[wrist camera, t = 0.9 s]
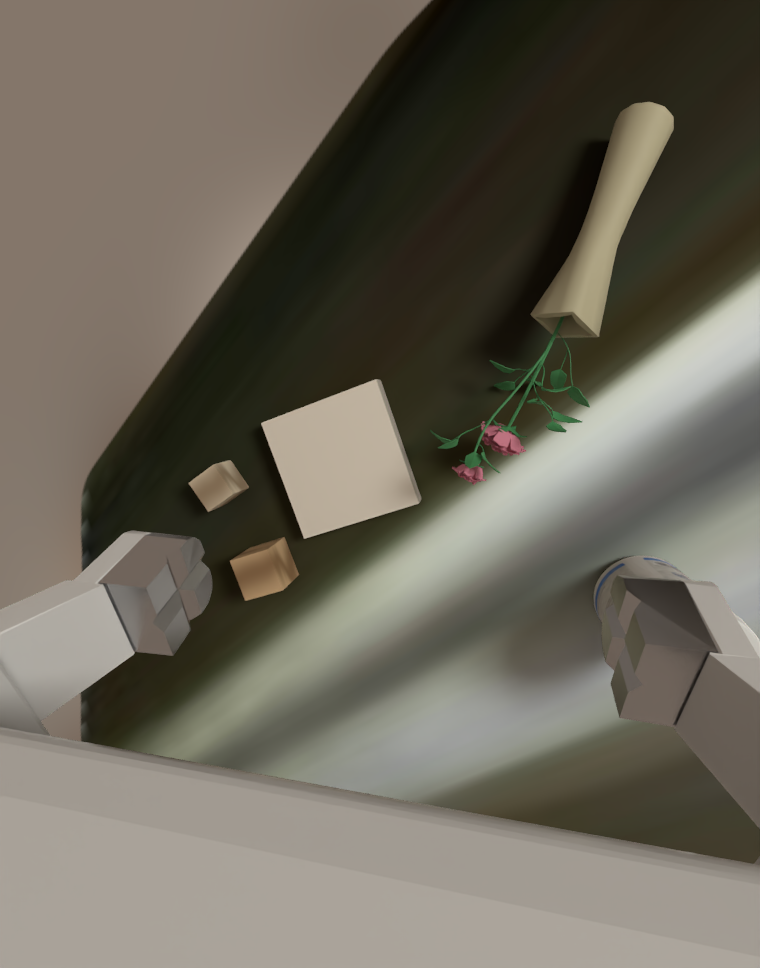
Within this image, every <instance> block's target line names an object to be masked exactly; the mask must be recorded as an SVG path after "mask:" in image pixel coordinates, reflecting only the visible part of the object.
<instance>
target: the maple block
mask: <svg viewBox="0 0 760 968" xmlns="http://www.w3.org/2000/svg"><path fill="white" fill-rule="evenodd" d="M189 485H190V486H191V488H192V489H193V490H194V492H195V493H196V495H197V496H198V498H199V499H200V501H201V502H202V503H203V505H204V506H205V508H206V509H207V511H208V512H209V511H212V510H214V509H216V508H219V507H221V506H223V505H226V504H227V503H228V502H230V501H231V500H232V499H234V498H235V497H237V496H238V495H239V494H241V493H242V492H244V491H245V490H246V489H248V488H249V486H248V485H247V483H246V482H245V481H244V479H243V478H242V476H241V475H240V473H239V472H238V470H237V469H236V467H235V466H234V464H233V463H232V462H231V460H229V461H225V462H221V463H217V464H213V465H212V466H211V467H209V468H208V469H207V470H205V471H204V472H203V473H201V474H200V475H199V476H197V477H196V478H195V479H193V480H192V481H191V482H189Z"/></svg>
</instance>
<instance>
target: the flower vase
mask: <svg viewBox="0 0 760 968" xmlns="http://www.w3.org/2000/svg"><path fill="white" fill-rule="evenodd" d="M673 129H674V124H673V116H672V115H671V114H670V112H669V111H668V110H667V109H666V108H665V107H664V106H661V105H658V104H655V103H652V102H645V103H636V104H633V105H631V106H630V107H628V108H626V109H625V110H623V111H621V113H620V115H619V116H618V118H617V120H616V122H615V125H614V128H613V131H612V135H611V138H610V141H609V145H608V148H607V152H606V155H605V158H604V162H603V165H602V168H601V172H600V175H599V179H598V182H597V185H596V188H595V192H594V195H593V198H592V201H591V204H590V207H589V210H588V212H587V215H586V218H585V221H584V223H583V226H582V229H581V231H580V233H579V236H578V238H577V240H576V242H575V244H574V246H573V248H572V251H571V253H570V255H569V257H568V258H567V260H566V261H565V263H564V264H563V266H562V267H561V269H560V271H559V272H558V274H557V275H556V277H555V278H554V280H553V281H552V283H551V284H550V286H549V287H548V289H547V290H546V292H545V293H544V295H543V296H542V298H541V299H540V301H539V302H538V304H537V305H536V307H535V308H534V310H533V311H532V313H531V314H530V315H531V316H532V317H533V318H535V319H536V320H537V321H538V322H539V323H540V324H541V325H542V326H544V327H545V328H546V329H547V330H548V331H549V332H550V333H551V334H553V335H552V337H551V339H550V341H549V343H548V345H547V347H546V350H545V351H544V353H543V354H542V356H541V357H540V358H539V360H538V361H537V362H536V364H535V365H534V366H533V367H531V368H530V369H529V370H530V371H529V370H528V371H527V370H525V371H526V372H528V374H527V375H526V377H525V378H524V379H523V380H522V382H521V383H520V384H519V385H518V386H517V388H516V389H515V382H516V380H517V379H519V378H520V377H521V376H522V375H524V374H525V373H526V372H525V373H524V374H522V375H521V376H520V377H518V378H517V379H516V380H515V382H509V381H505V382H502V383H497V384H495V385H494V386H495V387H497V388H500V389H502V390H514V389H515V390H514V391H513V392H512V393H511V395H510V396H509V397H508V398H507V399H506V400H505V401H504V403H503V404H502V405H501V406H500V407H499V408H498V409H497V411H496V412H495V413H494V414H493V415H492V416H491V418H490V419H489V420H488V421H487V422H485V423H487V424H486V425H485V423H484V421H483V422H482V424H481V425H479V426H482V427H481V432H482V433H481V435H480V437H479V439H478V442H477V444H476V447H475V450H474V452H473V453H471V454H469V455H467V456H466V458H465V461H461V460H459V461H461V462H465V464H462V465H460V466H459V467H457V468H455V467H452V469H453V470H455V471H456V472H457V473H458V476H460V477H461V478H462V477H464V479H465V480H468V481H469V482H472V484H473V485H474V484H475V483H476V482H478V481H479V480H481V481H486V480H483V472H482V468H484V467H482V468H480V467H481V466H479V464H480V462H481V460H482V457H483V459H484V460H485V461H486V462H487V463H488V465H489V466H491V467H492V468H493V469H494V470H495V471H497V472H498V473H500V472H499V471H498V470H496V469H495V468H494V467H493V466H492V465H491V464H490V463H489V462H488V461H487V459H486V457H485V453H484V449H483V447H482V446H481V445H479V443H480V440H481V438H482V440H483V441H484V443H485V444H486V445H492V449H493V450H494V451H497V452H499V453H501V452H502V454H503V455H508V454H507V453H509V455H510V456H512V455H513V454H518V455H519V453H518V452H522V453H523V452H525V451H526V450H524V449H523V448H524V446H521V444H520V441H519V437H527V436H520V435H519V434H518V433H517V432H516V431H515V429H516V426H513V427H510V426H511V425H512V423H513V421H514V419H515V417H516V416H517V414H518V412H519V410H520V408H521V407H522V405H523V403H524V401H525V399H526V397H527V395H528V393H529V391H530V389H531V387H532V385H534V383H535V384H536V385H538V386H539V387H540V386H541V387H542V384H543V378H544V373H543V378H542V384H541V382H536V381H535V379H536V377H537V375H538V373H539V370H540V368H541V366H543V365H542V364H543V362H544V360H545V358H546V356H547V354H548V352H549V350H550V347H551V345H552V343H553V341H554V339H555V337H556V338H562V339H563V338H571V337H599V332H600V328H601V323H602V318H603V313H604V308H605V303H606V298H607V293H608V288H609V283H610V278H611V273H612V268H613V263H614V259H615V254H616V250H617V246H618V244H619V241H620V238H621V236H622V234H623V231H624V229H625V227H626V225H627V222H628V220H629V218H630V215H631V213H632V211H633V209H634V207H635V205H636V203H637V200H638V199H639V197H640V195H641V193H642V191H643V189H644V187H645V185H646V183H647V181H648V179H649V177H650V175H651V173H652V171H653V169H654V167H655V165H656V163H657V161H658V159H659V157H660V155H661V153H662V151H663V149H664V147H665V145H666V143H667V141H668V139H669V137H670V135H671V133H672V131H673ZM563 341H564V339H563ZM564 342H565V341H564ZM565 344H566V342H565ZM566 346H567V344H566ZM567 348H568V346H567ZM568 351H569V348H568V350H567V352H568ZM566 355H567V353H566ZM569 355H570V352H569ZM565 358H566V356H565ZM564 361H565V359H564ZM490 362H491V363H492V364H493V365H494V366H495V367H496V368H498V369H499V370H501V371H502V372H505V373H511V372H513V371H515V370H517V369H515V370H514V369H510V368H506V367H504V366H502V365H500V364H498V363H496V362H493V361H491V360H490ZM563 363H564V362H563ZM537 365H538V366H537ZM536 366H537V368H536ZM562 366H563V364H562ZM535 368H536V370H535V373H534V375H533V377H532V379H529V378H528V377H529V375H531V373H532V372H533V370H534V369H535ZM561 368H562V367H561ZM543 369H544V366H543ZM519 370H523V369H519ZM544 372H545V369H544ZM570 375H571V356H570ZM531 376H532V375H531ZM566 377H567V375H566V374H565V373H564V372H563V371H562V370H561V369H559V370H555V371H552V372H551V376H550V379H551V385H552V386H553V387H554V389H553V390H549V389H545V388H543V387H542V389H541V390H543V391H551V392H559V391H564V390H566V389H568V388H570V387H571V386H570V387H565V388H562V387H563V386H564V383H565V381H566ZM526 380H527V381H530V383H529V385H528V387H527V389H526V391H525V393H524V395H523V397H522V399H521V401H520V403H519V405H518V407H517V409H516V411H515V413H514V414H513V416H512V418H511V420H510V422H509V424H508V426H505V425H503V424H500V423H497V422H495V421H494V420H493V418H494V417H495V415H496V414H497V413H498V412H499V411H500V410H501V408H502V407H503V406H504V405H505V404H506V403H507V402H508V401H509V400H510V398H511V397H512V396H513V395H514V394H515V393H516V391H517V390H518V389H519V388H520V387H521V385H522V384H523V383H524V382H525V381H526ZM571 383H572V378H571ZM534 389H535V385H534ZM535 392H536V389H535ZM567 393H568V394H569V396H570V397H571V398H572V399H573V400H574V401H576V402H577V403H579V404H582V405H584V406H587V407H590V406H589V404H588V401H587V400H586V398H585V397H584V396H583V395H582V393H581V392H580V390H579V389H578V388H576V387H574V386H573V384H572V387H571V388H570V389H569V391H568V392H567ZM536 394H537V392H536ZM537 396H538V394H537ZM538 398H539V399H540V397H539V396H538ZM535 400H537V399H532V400H529V401H527V403H536V404H540V405H542V404H543V403H544V404H546V403H545V402H543V401H542V400H541V399H540V401H535ZM544 404H543V405H544ZM546 405H547V404H546ZM544 406H545V405H544ZM547 406H548V405H547ZM548 407H549V408H550V409H551V410H552V408H551V407H550V406H548ZM545 408H546V409H547V407H546V406H545ZM547 410H548V409H547ZM548 412H549V410H548ZM549 413H550V412H549ZM550 415H551V413H550ZM551 417H552V422H551V423H549V424H548V425H547V426H546V427H547V428H548V429H549V430H552V431H555V432H566V430H565V429H564V428H562V426H561V425H559V424H557V423H555V422H553V418H554V419H556V420H558V421H561V422H567V423H577V422H582V421H579V420H577V419H574V418H571V417H568V416H564V415H562V414H560V413H558V412H555V411H553V410H552V415H551ZM492 420H493V422H494V424H495V425H489V424H490V422H491V421H492ZM479 426H477V427H479ZM477 427H475V428H477ZM483 427H484V428H483ZM475 428H473V429H475ZM473 429H471V430H473ZM471 430H468V431H466V432H464V433H462V434H461V435H463V434H465V433H467V432H469V431H471ZM430 431H431V430H430ZM431 432H432V431H431ZM432 433H433V432H432ZM433 434H434V435H435V436H436V437H437V438H438V439H439V440H441V441H442V442H443V443H445V444H444V445H442V446H440V447H438V448H443V449H447V448H452V447H455V446H456V445H457V444H458V439H459V437H460V436H461V435H459V436H458V437H456V438H458V439H456V438H455V440H454V439H453V440H454V441H453V440H452V442H451V440H448V439H445V438H442V437H440V436H438V435H436V434H435V433H433ZM478 446H481V447H482V449H483V452H482V453H481V455H482V456H481V455H479V454H478V453H476V451H477V448H478ZM481 481H480V482H481Z"/></svg>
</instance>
